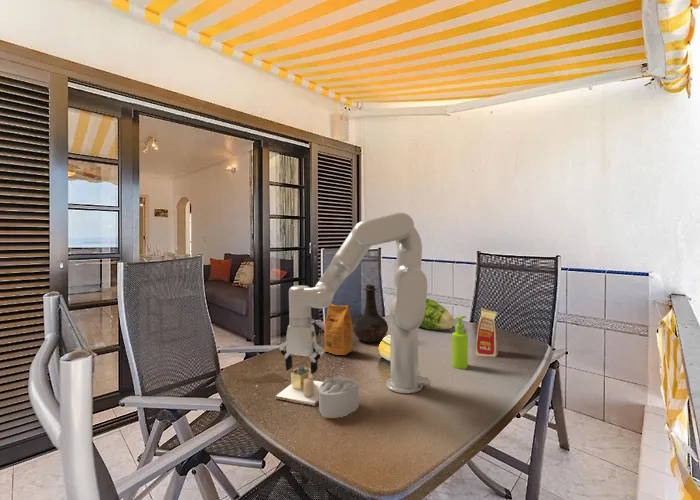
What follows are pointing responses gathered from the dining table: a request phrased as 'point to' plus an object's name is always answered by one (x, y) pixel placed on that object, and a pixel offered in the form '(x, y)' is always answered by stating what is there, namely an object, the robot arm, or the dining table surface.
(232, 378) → the dining table surface
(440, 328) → the lettuce
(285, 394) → the post board
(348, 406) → the lumpy-topped squat cylinder
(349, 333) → the coffee package
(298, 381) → the brass collar
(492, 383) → the dining table surface
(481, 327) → the milk carton
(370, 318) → the glass bottle
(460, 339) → the soap dispenser
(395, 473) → the dining table surface
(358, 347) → the dining table surface
